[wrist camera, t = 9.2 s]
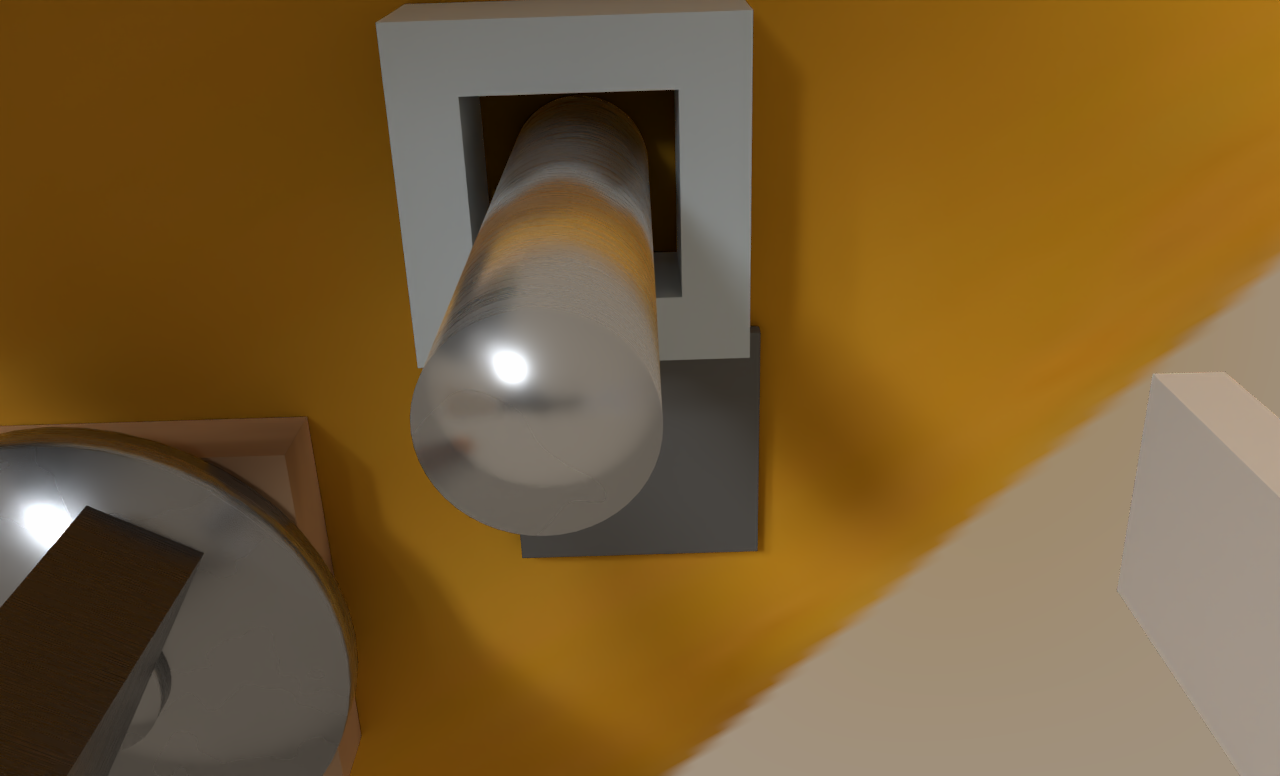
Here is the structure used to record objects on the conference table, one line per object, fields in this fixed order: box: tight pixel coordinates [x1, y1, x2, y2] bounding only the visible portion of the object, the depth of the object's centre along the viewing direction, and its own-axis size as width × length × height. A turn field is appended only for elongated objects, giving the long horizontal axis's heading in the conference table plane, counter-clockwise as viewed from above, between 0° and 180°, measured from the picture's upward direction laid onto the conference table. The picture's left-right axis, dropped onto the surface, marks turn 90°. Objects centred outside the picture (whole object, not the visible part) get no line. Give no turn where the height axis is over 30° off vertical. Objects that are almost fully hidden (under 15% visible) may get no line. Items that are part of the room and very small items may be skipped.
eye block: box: [376, 0, 753, 368], centre depth 24 cm, size 7×7×3 cm
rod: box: [410, 95, 663, 536], centre depth 20 cm, size 3×3×13 cm
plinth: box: [0, 417, 361, 776], centre depth 29 cm, size 10×10×2 cm
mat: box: [520, 326, 761, 558], centre depth 28 cm, size 6×6×1 cm
